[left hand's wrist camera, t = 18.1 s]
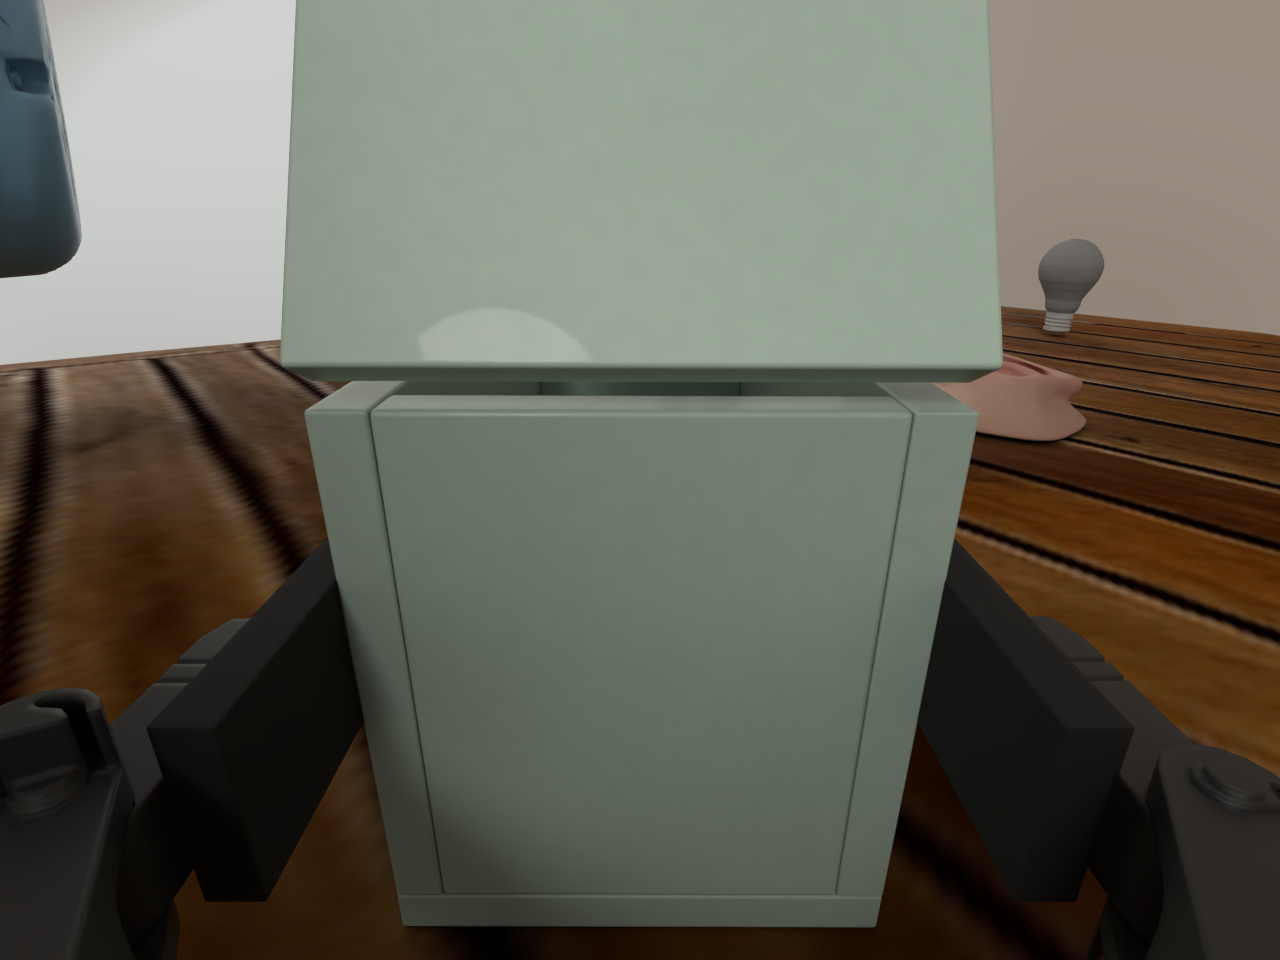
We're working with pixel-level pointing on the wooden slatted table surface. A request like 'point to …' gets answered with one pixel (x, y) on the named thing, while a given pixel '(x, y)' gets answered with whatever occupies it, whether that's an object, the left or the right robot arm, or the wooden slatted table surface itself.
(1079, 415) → the anatomical model
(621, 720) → the chest
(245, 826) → the left robot arm
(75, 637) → the wooden slatted table surface
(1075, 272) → the light bulb
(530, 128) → the lid
